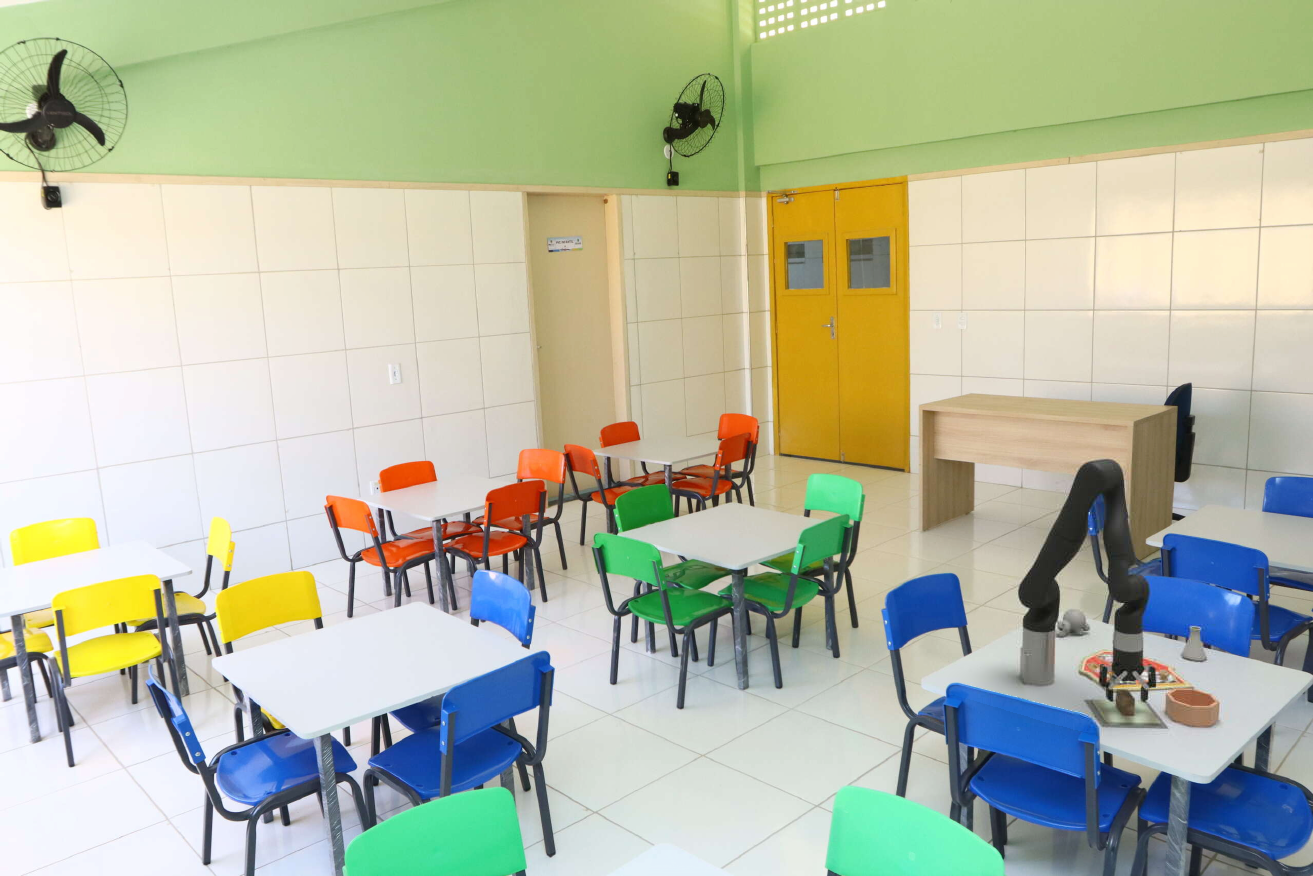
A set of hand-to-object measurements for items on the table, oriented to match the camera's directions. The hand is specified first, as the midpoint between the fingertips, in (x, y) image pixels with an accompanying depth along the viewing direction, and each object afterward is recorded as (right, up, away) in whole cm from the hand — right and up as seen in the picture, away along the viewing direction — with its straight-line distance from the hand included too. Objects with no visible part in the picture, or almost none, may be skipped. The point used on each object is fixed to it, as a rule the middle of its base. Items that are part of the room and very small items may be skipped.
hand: (1126, 700), depth 262 cm
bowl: (+16, -4, -3) cm, 17 cm away
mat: (0, -4, +1) cm, 4 cm away
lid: (0, -4, +1) cm, 4 cm away
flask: (+40, +3, +37) cm, 54 cm away
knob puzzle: (+14, 0, +29) cm, 32 cm away
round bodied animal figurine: (+11, +6, +60) cm, 61 cm away
